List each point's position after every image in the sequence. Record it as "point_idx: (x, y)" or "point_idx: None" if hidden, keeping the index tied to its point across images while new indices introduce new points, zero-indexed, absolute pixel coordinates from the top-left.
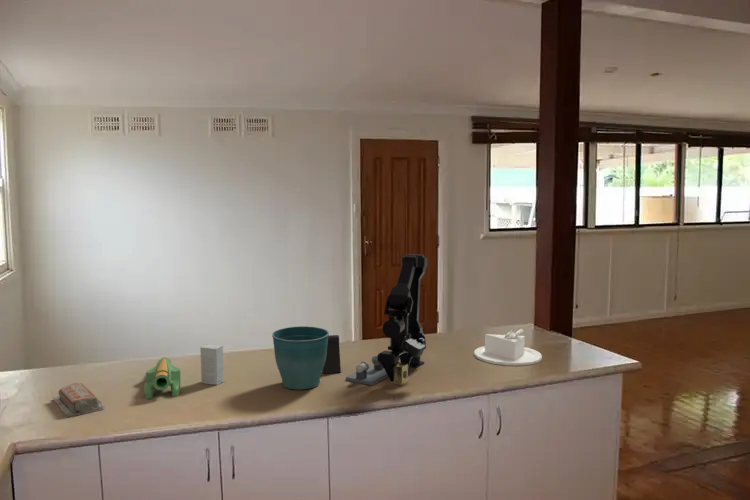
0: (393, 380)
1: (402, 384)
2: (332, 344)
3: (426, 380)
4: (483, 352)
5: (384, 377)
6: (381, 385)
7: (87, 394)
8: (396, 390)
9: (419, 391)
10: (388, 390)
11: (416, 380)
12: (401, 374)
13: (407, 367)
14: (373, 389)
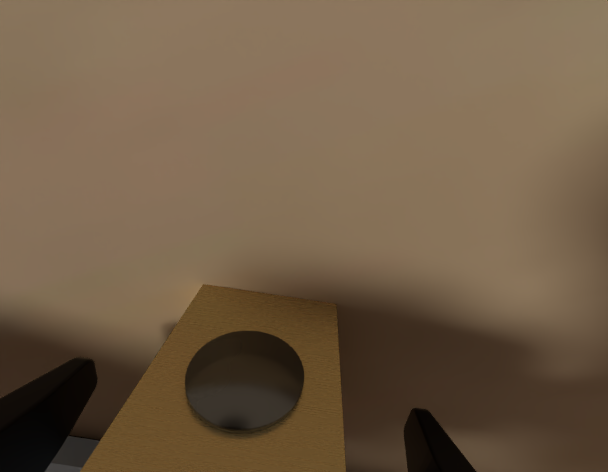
0: (433, 420)
1: (326, 305)
2: None
3: (21, 87)
4: None
5: None
6: None
7: None
8: (526, 307)
9: (526, 16)
10: (537, 369)
11: (107, 210)
12: (339, 421)
13: (102, 459)
14: (526, 464)
